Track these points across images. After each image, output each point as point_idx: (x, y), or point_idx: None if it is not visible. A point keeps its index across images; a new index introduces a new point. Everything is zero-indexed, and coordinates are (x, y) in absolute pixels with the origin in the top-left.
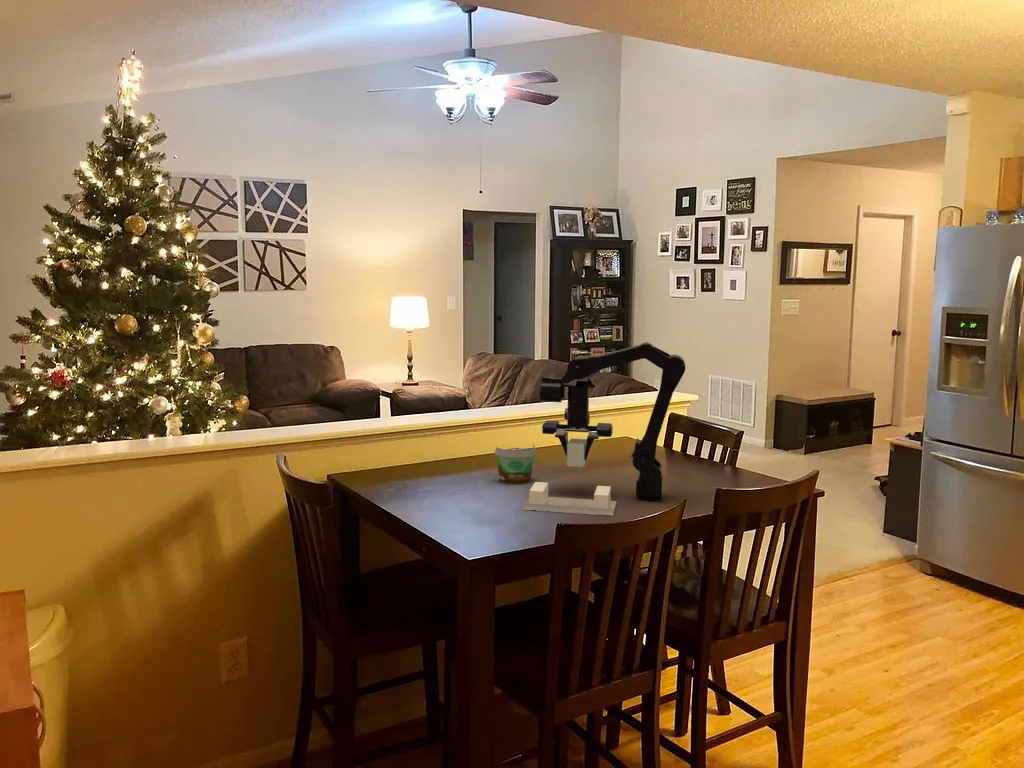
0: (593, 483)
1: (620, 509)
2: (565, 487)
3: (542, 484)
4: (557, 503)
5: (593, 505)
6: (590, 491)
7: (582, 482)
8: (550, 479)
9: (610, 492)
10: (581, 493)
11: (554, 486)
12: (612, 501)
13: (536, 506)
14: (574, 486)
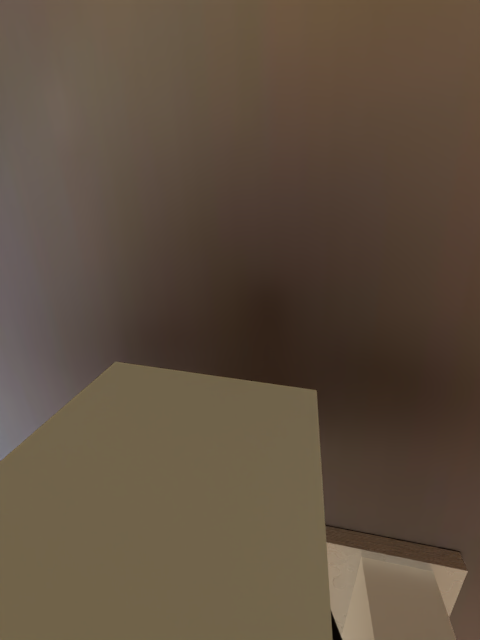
0: (379, 88)
1: (467, 606)
2: (180, 247)
3: None
4: None
5: (337, 615)
6: (339, 321)
7: (289, 73)
8: (47, 31)
9: (450, 631)
10: (283, 368)
11: (112, 233)
12: (444, 574)
13: None
14: (234, 212)
